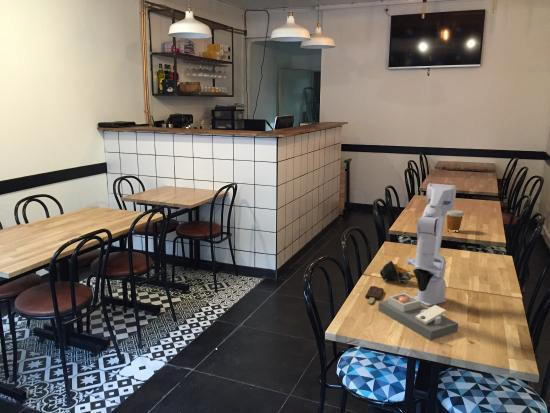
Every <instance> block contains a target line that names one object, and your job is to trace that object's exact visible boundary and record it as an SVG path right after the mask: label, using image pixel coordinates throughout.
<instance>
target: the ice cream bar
mask: <svg viewBox="0 0 550 413" xmlns="http://www.w3.org/2000/svg"><path fill="white" fill-rule="evenodd" d="M383 294H384V288H383V287H378V286H375V285H371V286H369V288H368V290H367V292H366V294H365V295H364V297H365V299H366V300H368V301H367V304H369V305H372V304H374V302H375V301H377V302H381V301H380V300H381V299H382V296H383Z"/></svg>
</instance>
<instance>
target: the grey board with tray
mask: <svg viewBox="0 0 550 413" xmlns="http://www.w3.org/2000/svg"><path fill="white" fill-rule="evenodd" d="M401 296H404V297H408V298H409V299H410V301H409V303H405V304H404V303H402V302H400V301H399V297H401ZM429 308H430V307H428V306H426V305H424V304H422V303H421V302H420V300H418V299H416V298H414V296H412V295H410V294H408V293H406V292H402V293H398V294H394V295H390V296H388V297H387V300H386V299H385V300H383V301H378V307H377V309H378V311H379V312H381V313H382V314H383V315H386V316H388V317H389V318H390V319H393V320H394V321H396V322H398V323H400V324H401V325H403V326H405V327H406V328H408V329H410V330H412V331H413V332H415V333H417V334H418V335H420V336H421V337H423V338H426V339H427V340H428V341H430V342H431V341H433V340H437V339H440V338H443V337H446V336H449V335H453V334H455V333H458V328H459V323H458V322H456V321H455V320H452V319H450V318H448V317H446V316H445V315H444V314H443V315H441V316H440V317H436V318H435V320H433V321H431V322H429V323H428V324H424V323H422V322H420V321H419V320H417V319H416V317H415V316H417V315H418V314H420V313H422V312H424V311H425V310H427V309H429Z"/></svg>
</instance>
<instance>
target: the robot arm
mask: <svg viewBox="0 0 550 413" xmlns="http://www.w3.org/2000/svg"><path fill="white" fill-rule="evenodd" d="M456 194H457V186H456V185H455V184H453V185H452V184H441V183H432V182H429V183H428V184H427V188H426V194H425V195H426V203H427V205H426V206H425V207H424V210H423V212H422V214H421V217H418V219H417V223H416V233H417V234H416V239H417V243H416V245H417V246H416V255H415V256H416V257H415V258H412V257H408V258H406V265H410V266H413V268H415V269H413V270H412V272H413V274H415V276H416V277H415V279H416V282H417V287H418V288H417V295H414V296H413V297H414V298H416V299H418V300H420V304H422V305H424V306H426V307H431V306H434V305H437V304H441V303H445V302H446V301H447V300H446V299H445V296H446V295H445V294H446V286H447V284H446V280H445V279H444V278H445V274H446V264H447V260H446V257H444V256H443V255H442V254H441V252H440V251H441V245H442V238H443V234H444V233H443V232H444V227H445V221H446V217H447V211H448V210H454V209H453V208H454V205H455V203H456V202H455V200H456V196H457V195H456Z"/></svg>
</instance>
